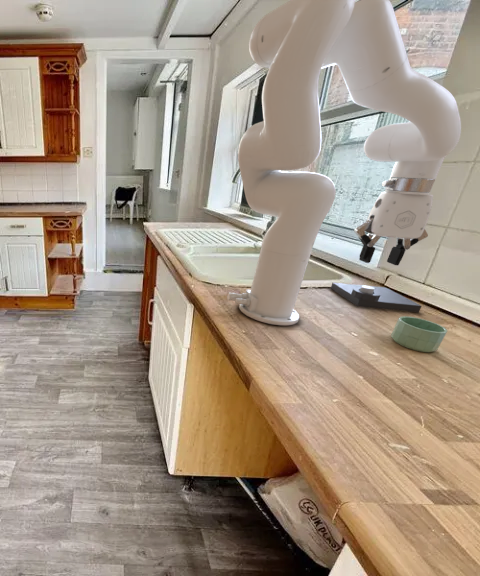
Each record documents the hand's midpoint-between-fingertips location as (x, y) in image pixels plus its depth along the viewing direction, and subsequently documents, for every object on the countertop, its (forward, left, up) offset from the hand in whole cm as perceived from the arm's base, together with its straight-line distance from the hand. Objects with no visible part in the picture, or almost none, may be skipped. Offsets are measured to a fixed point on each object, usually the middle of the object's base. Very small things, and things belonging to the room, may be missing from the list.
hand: (378, 261), depth 77 cm
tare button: (0, 0, -8) cm, 8 cm away
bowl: (-3, -21, -12) cm, 24 cm away
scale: (+4, +4, -12) cm, 13 cm away
